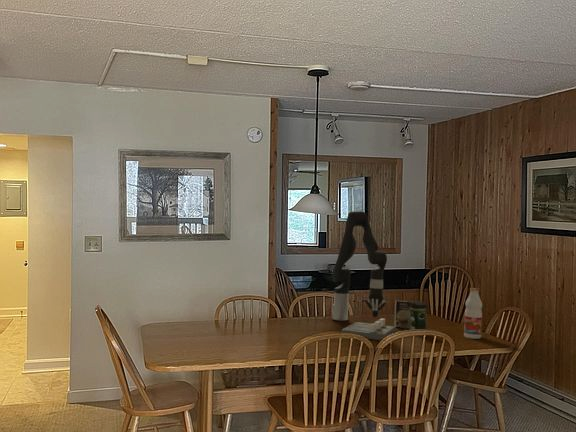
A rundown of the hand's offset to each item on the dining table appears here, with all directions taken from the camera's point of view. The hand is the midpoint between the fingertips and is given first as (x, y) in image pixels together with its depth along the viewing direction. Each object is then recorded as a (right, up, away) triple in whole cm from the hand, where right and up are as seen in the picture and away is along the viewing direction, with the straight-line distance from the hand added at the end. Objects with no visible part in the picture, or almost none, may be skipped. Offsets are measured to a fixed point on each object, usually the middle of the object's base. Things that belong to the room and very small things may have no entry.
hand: (375, 317), depth 326 cm
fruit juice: (+56, -12, +1) cm, 57 cm away
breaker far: (+5, -6, +7) cm, 11 cm away
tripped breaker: (+1, -6, -1) cm, 7 cm away
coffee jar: (+26, -11, +6) cm, 28 cm away
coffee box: (+20, -10, +22) cm, 32 cm away
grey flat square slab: (-3, -10, +1) cm, 10 cm away
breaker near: (-3, -6, -9) cm, 11 cm away
